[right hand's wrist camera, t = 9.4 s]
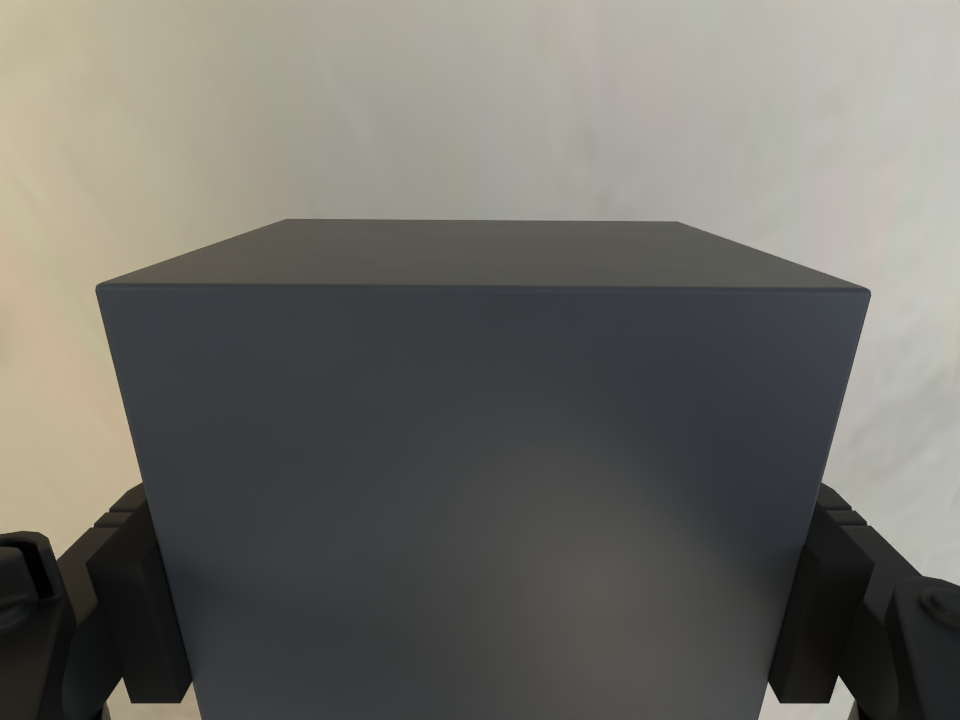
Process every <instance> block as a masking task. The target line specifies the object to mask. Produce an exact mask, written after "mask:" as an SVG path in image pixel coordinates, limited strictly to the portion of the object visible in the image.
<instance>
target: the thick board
mask: <svg viewBox="0 0 960 720" xmlns="http://www.w3.org/2000/svg"><path fill="white" fill-rule="evenodd" d="M95 291H96V295H97V299H98V303H99V307H100V311H101V315H102V319H103V323H104V327H105V331H106V335H107V339H108V343H109V347H110V351H111V355H112V359H113V363H114V368H115V372H116V376H117V380H118V384H119V388H120V392H121V396H122V400H123V404H124V408H125V412H126V416H127V420H128V424H129V428H130V432H131V436H132V440H133V444H134V448H135V452H136V456H137V460H138V464H139V468H140V472H141V476H142V480H143V484H144V488H145V492H146V497H147V501H148V505H149V509H150V513H151V517H152V521H153V525H154V529H155V533H156V537H157V541H158V545H159V549H160V553H161V557H162V561H163V565H164V569H165V573H166V577H167V581H168V585H169V589H170V593H171V597H172V601H173V605H174V609H175V613H176V617H177V622H178V626H179V630H180V634H181V638H182V642H183V646H184V650H185V654H186V658H187V662H188V666H189V670H190V674H191V678H192V682H193V686H194V690H195V694H196V698H197V702H198V706H199V710H200V714H201V718H202V720H758V718H759V714H760V710H761V706H762V703H763V699H764V695H765V691H766V688H767V684H768V680H769V676H770V673H771V669H772V665H773V661H774V658H775V654H776V650H777V646H778V643H779V639H780V635H781V631H782V627H783V624H784V620H785V616H786V612H787V609H788V605H789V601H790V597H791V594H792V590H793V586H794V582H795V578H796V574H797V571H798V567H799V563H800V559H801V555H802V551H803V548H804V544H805V541H806V537H807V534H808V530H809V526H810V522H811V519H812V515H813V511H814V507H815V504H816V500H817V496H818V492H819V489H820V485H821V481H822V477H823V474H824V470H825V466H826V462H827V459H828V455H829V451H830V447H831V444H832V440H833V436H834V432H835V429H836V425H837V421H838V417H839V414H840V410H841V406H842V402H843V399H844V395H845V391H846V387H847V384H848V380H849V376H850V372H851V369H852V365H853V361H854V357H855V354H856V350H857V346H858V342H859V339H860V335H861V331H862V327H863V323H864V320H865V316H866V312H867V308H868V305H869V301H870V297H871V291H870V290H869V289H867V288H865V287H862V286H859V285H856V284H854V283H851V282H848V281H845V280H842V279H839V278H837V277H834V276H831V275H828V274H825V273H822V272H819V271H817V270H814V269H811V268H808V267H805V266H802V265H799V264H797V263H794V262H791V261H788V260H785V259H782V258H780V257H777V256H774V255H771V254H768V253H765V252H762V251H760V250H757V249H754V248H751V247H748V246H745V245H743V244H740V243H737V242H734V241H731V240H728V239H725V238H723V237H720V236H717V235H714V234H711V233H708V232H706V231H703V230H700V229H697V228H694V227H691V226H688V225H686V224H683V223H680V222H663V221H512V220H362V219H285V220H282V221H279V222H276V223H273V224H270V225H267V226H264V227H261V228H259V229H256V230H253V231H250V232H247V233H244V234H241V235H238V236H235V237H232V238H230V239H227V240H224V241H221V242H218V243H215V244H212V245H209V246H206V247H203V248H201V249H198V250H195V251H192V252H189V253H186V254H183V255H180V256H177V257H175V258H172V259H169V260H166V261H163V262H160V263H157V264H154V265H151V266H148V267H146V268H143V269H140V270H137V271H134V272H131V273H128V274H125V275H122V276H119V277H117V278H114V279H111V280H108V281H105V282H102V283H100V284H98V285H97V286H96V290H95Z"/></svg>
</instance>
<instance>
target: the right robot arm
mask: <svg viewBox="0 0 960 720" xmlns="http://www.w3.org/2000/svg"><path fill="white" fill-rule="evenodd" d="M851 508H852V507H851V506H850V505H849V504H848V503H847V502H846V501H845V500H844V499H843V498H842V497H841V496H840V495H839V494H838V493H837V492H836V491H835V490H834V489H832V488H830V487H829V486H827V485H825V484H823V483H822V482H821V485H820V489H819V492H818V496H817V500H816V504H815V507H814V511H813V515H812V519H811V522H810V526H809V530H808V534H807V537H806V541H805V544H804V548H803V551H802V555H801V559H800V563H799V567H798V571H797V574H796V578H795V582H794V586H793V590H792V594H791V597H790V601H789V605H788V609H787V612H786V616H785V620H784V624H783V627H782V631H781V635H780V639H779V643H778V646H777V650H776V654H775V658H774V661H773V665H772V669H771V673H770V676H769V680H768V682H769V684H770V686H771V687H772V689H773V691H774V693H775V695H776V697H777V699H778V700H779V702H780V703H829V702H830V699H831V696H832V693H833V690H834V687H835V684H836V681H837V678H838V675H839V676H840V678H841V679H842V681H843V682H844V684H845V685H846V686H847V688H848V689H849V691H850V692H851V694H852V695H853V697H854V698H855V700H854V703H853V706H852V709H851V712H850V714H849V717H848V720H960V586H958V585H956V584H953V583H950V582H947V581H945V580H942V579H936V578H931V577H925V576H922V575H921V574H920V573H919V572H918V571H917V570H916V569H915V568H914V567H913V566H912V565H911V564H910V563H909V562H908V561H907V560H906V559H904V558H903V557H902V556H901V555H900V554H899V553H898V552H897V551H896V550H895V549H894V548H893V547H892V546H891V545H890V544H889V543H888V542H887V541H886V540H885V539H884V538H883V537H882V536H881V535H880V534H879V533H878V532H877V531H876V530H875V529H874V528H873V527H872V526H868V525H867V522H866V521H865V520H864V519H863V518H862V517H861V516H860V515H859V514H858V513H857V512H856V511H852V509H851ZM122 677H123V679H124V683H125V686H126V689H127V692H128V695H129V698H130V701H131V703H181V701H182V699H183V697H184V695H185V694H186V692H187V690H188V688H189V686H190V684H191V682H192V678H191V674H190V670H189V666H188V662H187V658H186V654H185V650H184V646H183V642H182V638H181V634H180V630H179V626H178V622H177V617H176V613H175V609H174V605H173V601H172V597H171V593H170V589H169V585H168V581H167V577H166V573H165V569H164V565H163V561H162V557H161V553H160V549H159V545H158V541H157V537H156V533H155V529H154V525H153V521H152V517H151V513H150V509H149V505H148V501H147V497H146V492H145V488H144V484H143V482H142V483H140V484H139V485H137V486H135V487H134V488H132V489H130V490H129V491H127V492H126V493H125V494H124V495H123V496H122V497H121V498H120V499H119V500H118V501H117V502H116V503H115V504H114V505H113V506H112V507H111V508H110V509H109V512H106V513H105V514H104V515H103V516H102V517H101V518H100V519H99V520H98V521H96V522H95V523H94V527H93V528H89V529H88V530H87V531H86V532H85V533H84V534H83V535H82V536H81V537H80V538H79V539H78V540H77V541H76V542H75V543H74V544H73V545H72V546H71V547H70V548H69V549H68V550H67V551H66V552H65V553H64V554H63V555H62V556H61V557H60V558H59V559H58V560H57V561H56V559H55V556H54V553H53V550H52V547H51V545H50V542H49V539H48V538H47V537H46V536H44V535H42V534H41V533H39V532H29V531H19V532H13V533H6V534H0V720H111V718H110V713H109V709H108V706H107V703H106V700H107V699H108V697H109V696H110V694H111V693H112V691H113V690H114V688H115V687H116V685H117V684H118V683H119V681H120V680H121V678H122Z"/></svg>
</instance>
